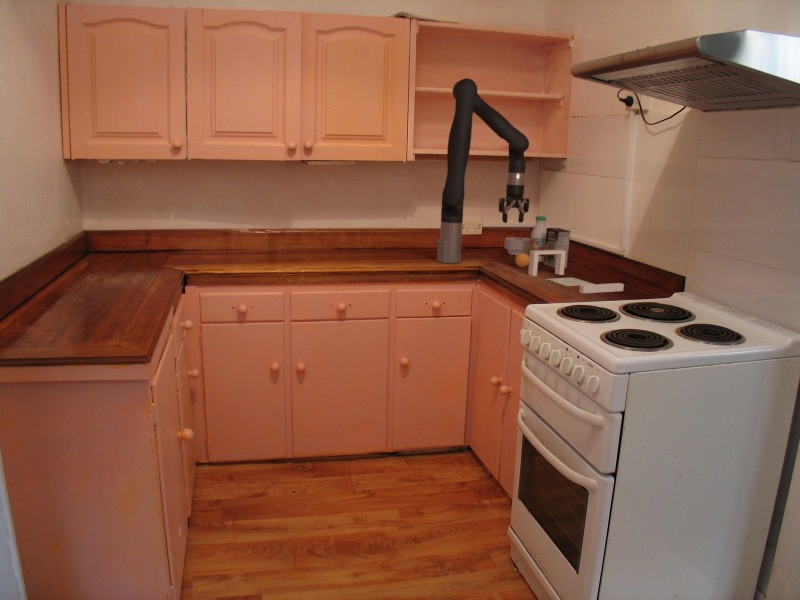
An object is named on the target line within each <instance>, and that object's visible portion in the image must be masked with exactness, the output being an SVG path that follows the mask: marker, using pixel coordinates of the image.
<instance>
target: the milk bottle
mask: <svg viewBox="0 0 800 600" xmlns="http://www.w3.org/2000/svg"><path fill="white" fill-rule="evenodd" d="M546 222H547V217H546V216H543V215H539V216H538V215H537V216H535V225H534V227H533V229H532V231H531V234H530V238H531V239H530V249H529V258H530V250H545V242H546V231H547V225H546ZM538 263H544V254H540V255H539V256H538Z"/></svg>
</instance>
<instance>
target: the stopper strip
mask: <svg viewBox="0 0 800 600" xmlns="http://www.w3.org/2000/svg"><path fill="white" fill-rule="evenodd" d="M593 284H594V285H579V290H578V292H579V293H580V294H593V293H594V294H595V293H596V294H597V293H609V292H610V293H613V292H624V287H625V284H624V283H621V282H615V283H598V284H596V283H593Z"/></svg>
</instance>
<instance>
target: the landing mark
mask: <svg viewBox="0 0 800 600" xmlns="http://www.w3.org/2000/svg"><path fill="white" fill-rule="evenodd" d="M545 280H546V281H549V280H550V282H552V281H553V282H552V283H556V284H559V285H563V286H565V287H571V286H572V287H573V286H580V285H594V284H595V283H593V282H589V281H586V280H582V279H579V278H575V277H557V278H554V277H553V278H545Z"/></svg>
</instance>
